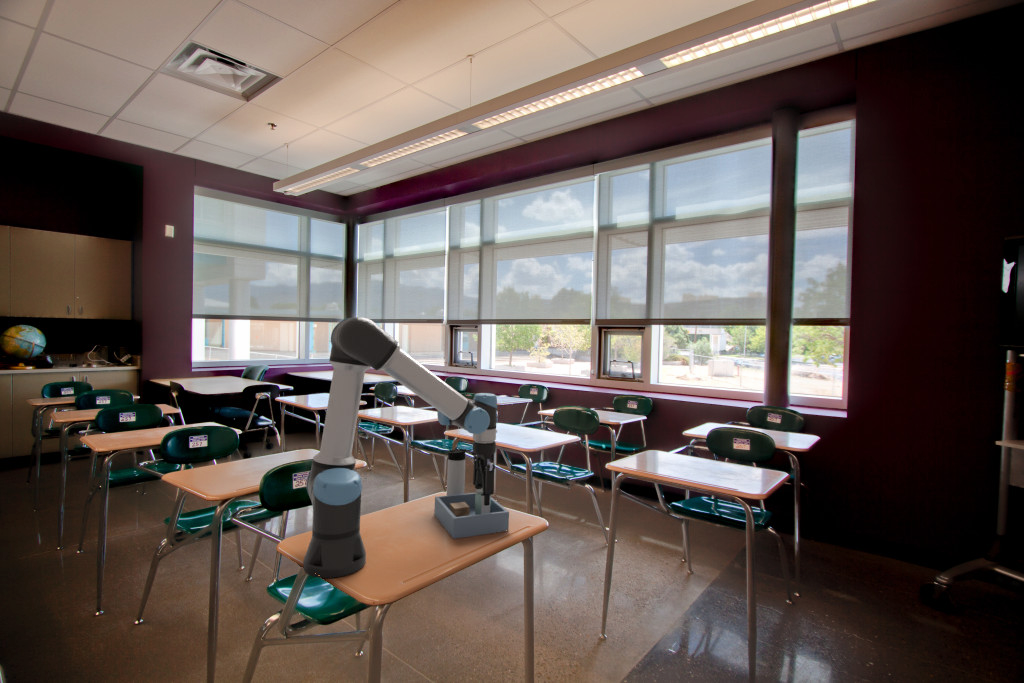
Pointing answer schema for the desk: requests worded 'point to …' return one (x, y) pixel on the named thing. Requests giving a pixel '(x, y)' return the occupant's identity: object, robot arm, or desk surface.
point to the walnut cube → (460, 509)
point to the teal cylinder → (479, 503)
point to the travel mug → (456, 472)
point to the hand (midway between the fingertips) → (482, 511)
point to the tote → (470, 517)
